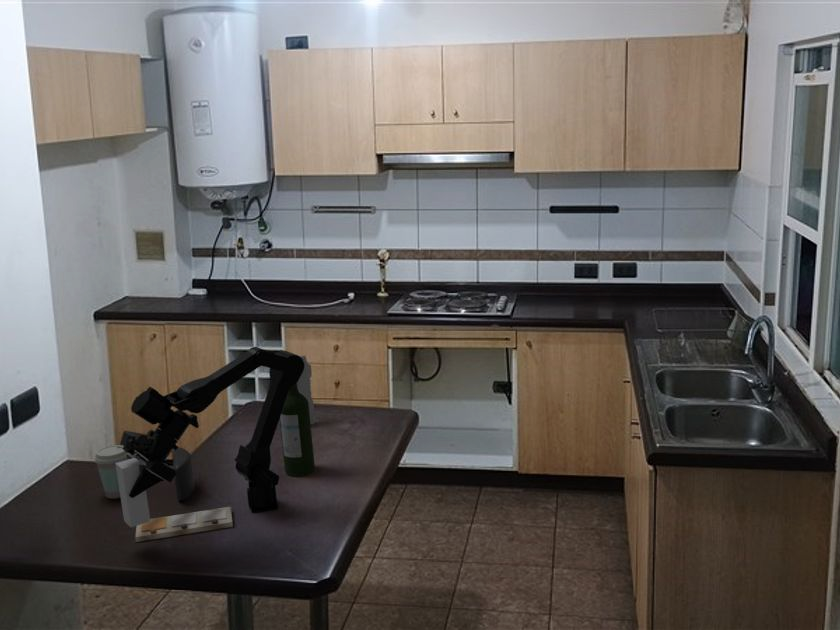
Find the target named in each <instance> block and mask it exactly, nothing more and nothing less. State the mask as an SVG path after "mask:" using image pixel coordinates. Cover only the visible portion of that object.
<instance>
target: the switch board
mask: <svg viewBox="0 0 840 630" xmlns="http://www.w3.org/2000/svg"><path fill="white" fill-rule="evenodd" d="M135 527H136V529H135V537H134V538H135V542H136V543H139V542H145V541H151V540H157V539H165V538H170V537H171V538H172V537H176V536H181V535H189V534H196V533H200V532H208V531H214V530H220V529H226V528H233V527H234V524H233V513H232V506H226V507H219V508H211V509H206V510H200V511H193V512H187V513H181V514H174V515H169V516H162V517H154V518H150V522H147V523H143V524H140V525H137V526H135Z"/></svg>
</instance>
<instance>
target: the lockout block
mask: <svg viewBox="0 0 840 630" xmlns="http://www.w3.org/2000/svg"><path fill="white" fill-rule="evenodd" d="M115 465H116V471H117V478H118V484H119V491H120V504H121V508H122V510H121V511H122V516H123V521H124V523H126V524H127V526H129V527H130V528H135V527H137V525H140V524H143V523H147V522H150V519H151V515H150V510H149V509H150V508H149V502H148V496H147V495H148V494H147V490H145V491H143V492H142V493H140V494H139V495H137V496H136V497H134V498H131V497H130V496H129V494H130V492H131V490H132V488H133V486H134V484H135V482H136V480H137V478H138V477H139V475H140V469H139V465H141V466H142V463H141V462H140V461H138V460H137V459H136V458H132V459H128V460H125V461H121V462H118V463H115Z"/></svg>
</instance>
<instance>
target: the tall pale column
mask: <svg viewBox="0 0 840 630" xmlns="http://www.w3.org/2000/svg"><path fill="white" fill-rule="evenodd" d="M299 356H300V357H301V358H302V359H303V362H304V363H305V367H304V371H303V373H302V375H301V377H300V379H299V381H298V382H297V388H298V391H299V393H301V394H302V395H303V396H305V397H306V399H307V400H308V403H309V413H310V423H311V426H313V424H314V425H315V424H316V417H315V406H314V400H313V397H312V390H311V389H312V385H311V381H312V380H311V377H312V364H310V363H308V360H307V357H306V355H299Z"/></svg>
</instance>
